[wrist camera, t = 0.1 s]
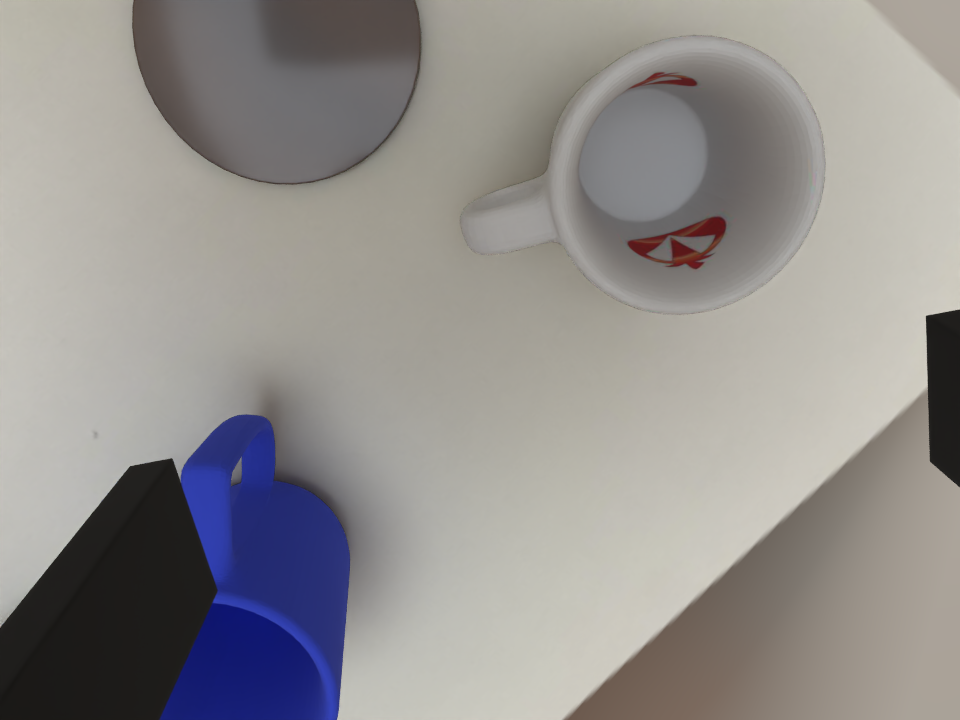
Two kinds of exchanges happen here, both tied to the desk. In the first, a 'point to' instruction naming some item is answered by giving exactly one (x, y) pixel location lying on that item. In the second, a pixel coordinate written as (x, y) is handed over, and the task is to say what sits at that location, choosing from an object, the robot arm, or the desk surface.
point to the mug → (262, 588)
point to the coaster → (280, 79)
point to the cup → (671, 178)
